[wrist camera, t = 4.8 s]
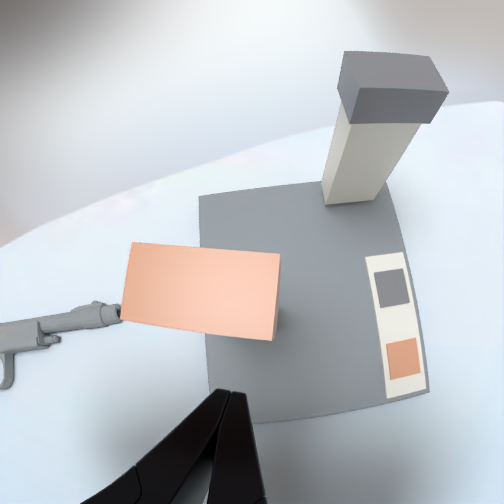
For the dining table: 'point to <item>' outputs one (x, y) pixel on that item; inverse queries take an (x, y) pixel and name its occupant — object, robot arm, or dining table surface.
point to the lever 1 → (203, 290)
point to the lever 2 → (377, 120)
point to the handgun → (49, 331)
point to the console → (320, 304)
